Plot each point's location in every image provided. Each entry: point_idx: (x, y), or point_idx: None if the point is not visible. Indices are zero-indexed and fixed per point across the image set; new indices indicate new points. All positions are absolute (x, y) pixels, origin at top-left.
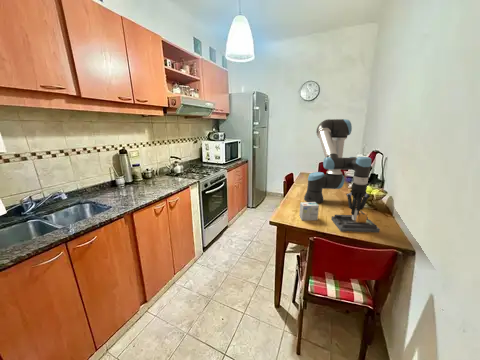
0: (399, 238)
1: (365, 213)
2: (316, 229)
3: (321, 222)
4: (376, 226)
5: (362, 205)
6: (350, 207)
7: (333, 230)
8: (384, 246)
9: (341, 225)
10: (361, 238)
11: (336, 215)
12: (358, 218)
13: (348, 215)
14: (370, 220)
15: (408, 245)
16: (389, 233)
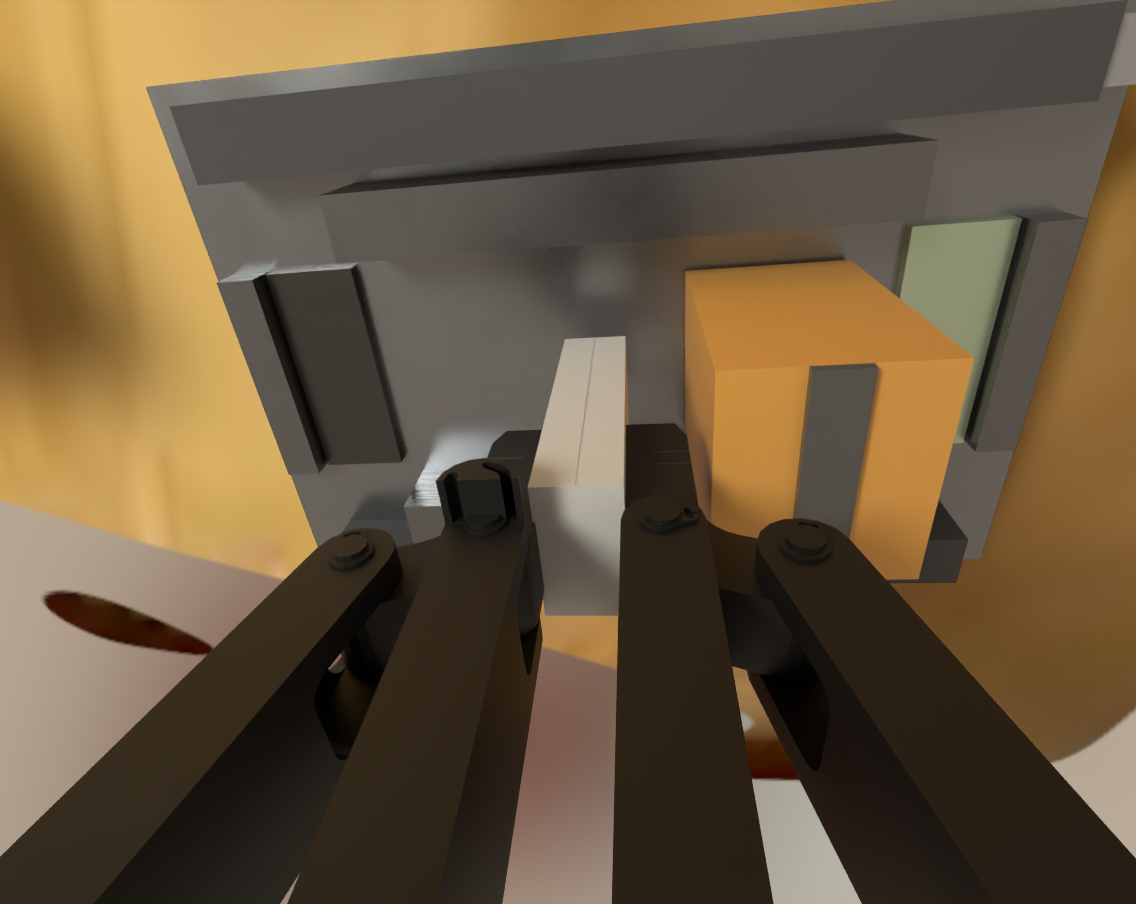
0: (1129, 628)
1: (903, 522)
2: (27, 508)
3: (36, 270)
4: (940, 573)
5: (821, 821)
6: (333, 703)
7: (255, 513)
8: (764, 756)
9: (339, 506)
10: (582, 652)
11: (219, 172)
12: (694, 428)
13: (557, 109)
14: (1061, 288)
15: (1077, 738)
16: (1113, 522)
